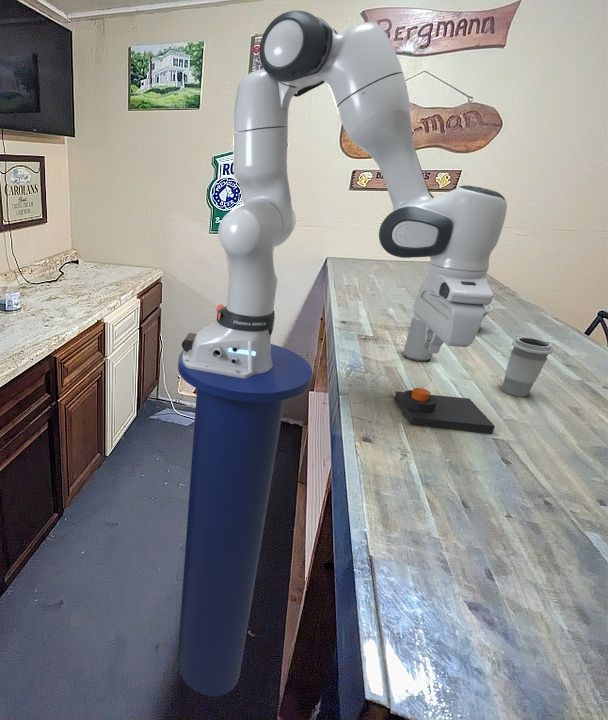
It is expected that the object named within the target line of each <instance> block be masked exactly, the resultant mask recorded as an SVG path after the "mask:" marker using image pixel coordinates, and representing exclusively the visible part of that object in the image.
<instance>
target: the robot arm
mask: <svg viewBox="0 0 608 720" xmlns="http://www.w3.org/2000/svg"><path fill="white" fill-rule="evenodd" d="M258 49H259V61H260V65H261V66H262V68H261V69H257V70H254V71H251V72H249V73H248V74H247V75H245V76H244V77H243V78H242V79H241V80H240V82H239V84H238V86H237V88H236V95H235V101H234V109H233V110H234V111H233V122H232V123H233V124H232V128H233V129H232V168H233V170H232V171H233V175H234V178H235V180H236V182H237V183H238V186H239V190H240V194H241V195H240V196H241V199H242V204H239V205H237V206H235V207H234V208H233V209H231V210H229V211H228V212H227V213H226V214H225V215H224V216H223V217H222V219H221V221H220V222H219V224H218V231H217V234H218V235H217V237H218V240H219V243H220V246H221V247H222V248H223V249H224V251H225V257H226V265H227V271H228V272H227V273H228V280H227V281H228V283H227V295H226V305H225V306H224V304H222V303H219V304H218V305H217V306H216V309H215V312H216V321H214V322H213V323H211V324H210V325H208V326H206V327H203V328H202V329H200V330H199V331H198V332H197V333H193V332H189V333H188V334H187V335H186V336H185V338H184V339H183V341H182V342H181V348H182V349H183V350H184V353H183V358H182V362H183V364H184V366H185V367H186V368H189V369H194V370H200V371H205V372H211V373H216V374H222V375H227V376H232V377H238V378H249V377H251V376H253V375H256V374H261V373H264V372H267V371H269V370H270V369H271V368H272V366H273V364H272V358H271V344H272V342H271V340H272V339H271V338H272V334H273V331H274V326H275V319H276V316H275V314H276V313H275V310H274V309H275V301H276V294H277V287H278V277H277V275H276V272H275V264H274V262H275V261H274V250H275V247H278V246H280V245H282V244H284V243H285V242H286V241H287V240H288V239H289V237H290V236H291V235H292V233H293V232H294V230H295V227H296V223H297V217H296V212H295V211H294V209H293V205H292V197H291V190H290V183H289V182H290V181H289V178H288V177H289V176H288V140H289V139H288V136H289V132H288V131H289V108H290V103H291V100H292V98H293V97H297V98H298V97H300V96H302V95H305V94H306V93H309V92H310V91H312V90H314V89H316V88H318V87H320V86H322V85H323V84H326V85H327V86H328V88H329V90H330V92H331V95H332V98H333V102H334V105H335V108H336V111H337V115H338V117H339V120H340V122H341V125H342V127H343V129H344V131H345V133H346V135H347V137H348V138H349V139H350V141H351V142H352V143H353V144H354V145H355V146H357V147H358V148H360V149H361V150H362V151H364V152H365V153H366V154H367V155H368V156H370V157H371V158H372V160H373V161H374V162H375V163H376V165H377V166H378V168H379V170H380V173H381V175H382V178H383V180H384V184H385V187H386V189H387V192H388V195H389V199H390V201H391V204H392V212H390V213H389V214H388V215H387V216H386V217H385V218H384V219H383V221H382V222H381V225H380V226H379V231H378V239H379V243H380V245H381V247H382V249H383V250H384V251H385V252H386V253H388V254H390V255H391V256H393V257H397V258H402V259H411V258H430V260H429V262H428V263H429V264H428V267H427V270H426V274H425V277H424V280H423V281H422V282H421V283H420V286H419V288H418V292H417V294H416V296H415V299H414V302H413V307H412V311H413V313H414V315H415V314H416V315H417V316H418V317H419V318H420V319H421V320H422V321H423V322H424V323H425V324H426V329H425V342H424V347H425V348H426V349H427V351H428V352H429V353H433V354H438V353H440V349H441V348H442V346H443V344H445V345H446V346H448V347H458V348H468V347H469V346H470V345H472V343H473V342H474V341H475V339H476V336H477V334H478V332H479V330H480V327H481V325H482V322H483V320H484V318H485V317H484V313H485V308H484V305H491V303H492V302H493V299H494V292H493V290H492V289H491V287H490V285H489V281H488V277H486V276H487V274H488V271H489V268H490V257H491V254H492V253H493V250H494V249H495V248H496V247H497V245H498V242H499V240H500V236H501V234H502V231H503V227H504V224H505V219H506V215H507V211H508V210H507V208H508V203H507V202H508V201H507V200H506V198H505V197H504V195H502V194H501V193H500V192H498V191H495V190H493V189H488V188H485V187H482V186H481V187H480V186H474V185H459V186H457V187H456V188H454V189H452V190H450V191H448V192H446V193H443V194H441V195H438V196H434V195H433V194H432V192H431V191H430V189H429V188H428V185H427V182H426V179H425V176H424V172H423V170H422V166H421V163H420V160H419V157H418V154H417V151H416V149H415V143H414V137H413V134H414V133H413V126H412V115H411V114H412V113H411V104H410V98H409V91H408V86H407V81H406V79H405V78H406V77H405V75H404V72H403V68H402V65H401V62H400V60H399V57H398V55H397V53H396V52H397V51H396V50H395V48H394V46H393V44H392V42H391V40H390V38H389V37H388V35H387V33H386V31H385V29H384V28H383V27H382V26H381V25H380V24H379V23H376V22H374V21H366V22H361V23H358V24H355V25H354V26H351V27H350V28H348V29H346V30H345V31H342V32H340V33H339V32H338V31H337V30H336V29H335V28H333V27H332V26H331V25H330V24H329V23H328V22H327V21H325V20H324V19H323V18H321V17H318V16H316V15H314V14H312V13H310V12H309V11H305V10H290V11H286V12H284V13H282V14H279V15H277V17H275V18H274V19H272V20H271V22H270V23H269V24H268V25H267V26H266V28H265V30H264V32H263V34H262V36H261V40H260V43H259V48H258ZM483 317H484V318H483Z"/></svg>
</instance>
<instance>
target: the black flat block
mask: <svg viewBox="0 0 608 720" xmlns="http://www.w3.org/2000/svg"><path fill="white" fill-rule="evenodd" d="M412 391H413V389H409V390H404V391H400V390H399V391H398V390H397V391H395V394H394V400H395V401H396V403H397V405H398V407H399V408H400V410H401V411H402V413H403V414H404V416H405V418H406V419H407V421H408V423H409V425H411V426H412V425H413V426H421V427H430V428H438V429H447V430H455V431H456V430H457V431H464V432H465V431H466V432H472V433H482V434H483V433H484V434H493V433H494V430H495V427H496V426H495V424H494V423H493V422H492V421H491V420H490V419H489V418H488V417H487V416H486V414H484V412H483V411H481V409H480V408H479V407H478V406H477V405H476V404H475V403H474V402H473V401H472V399H471V398H467V397H458V396H449V395H448V396H447V395H438V394H430V396H429V399H428V401H426V402H424V401H418V400H415V399H413V398H411V395H412Z"/></svg>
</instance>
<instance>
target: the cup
mask: <svg viewBox="0 0 608 720" xmlns="http://www.w3.org/2000/svg"><path fill="white" fill-rule="evenodd" d="M511 346H513V348H512V350H511V352H510V356H509V359H508V362H507V366H506V369H505V372H504V379H503V383H502V385H501V390H502V391H503V392H504V393H506V394H507V395H512V396H515V397H528V395H529V393H530V391H531V389H532V387H533V386H534V384H535V383H536V381H537V380H538V378H539V375H540V373H541V371H542V369H543V368H544V366H545V363H546V362H547V360H548V356H549V355H551V354H553V353H554V351H553V347H552V346H553V344H552V343H550V342H549V341H547V340H545V339H541V338H537V337H532V336H518V337H517V338H515V340H513V341H512V342H511Z"/></svg>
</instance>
